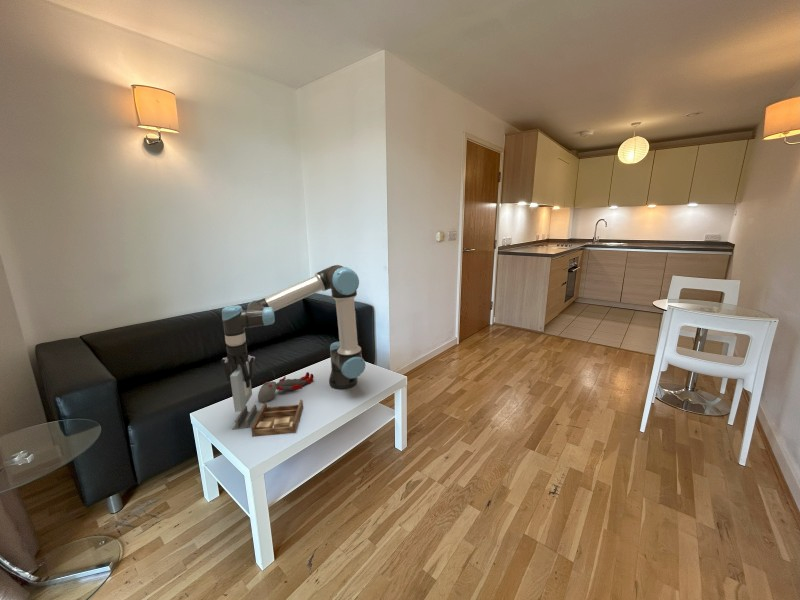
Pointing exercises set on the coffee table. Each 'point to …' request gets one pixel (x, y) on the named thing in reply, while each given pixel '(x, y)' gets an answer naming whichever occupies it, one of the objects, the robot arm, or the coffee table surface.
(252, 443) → the coffee table surface
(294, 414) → the rack
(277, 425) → the offcut
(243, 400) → the grey flat slab
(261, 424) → the offcut
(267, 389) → the toy
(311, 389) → the coffee table surface
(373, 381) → the coffee table surface
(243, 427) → the stand
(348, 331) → the robot arm
